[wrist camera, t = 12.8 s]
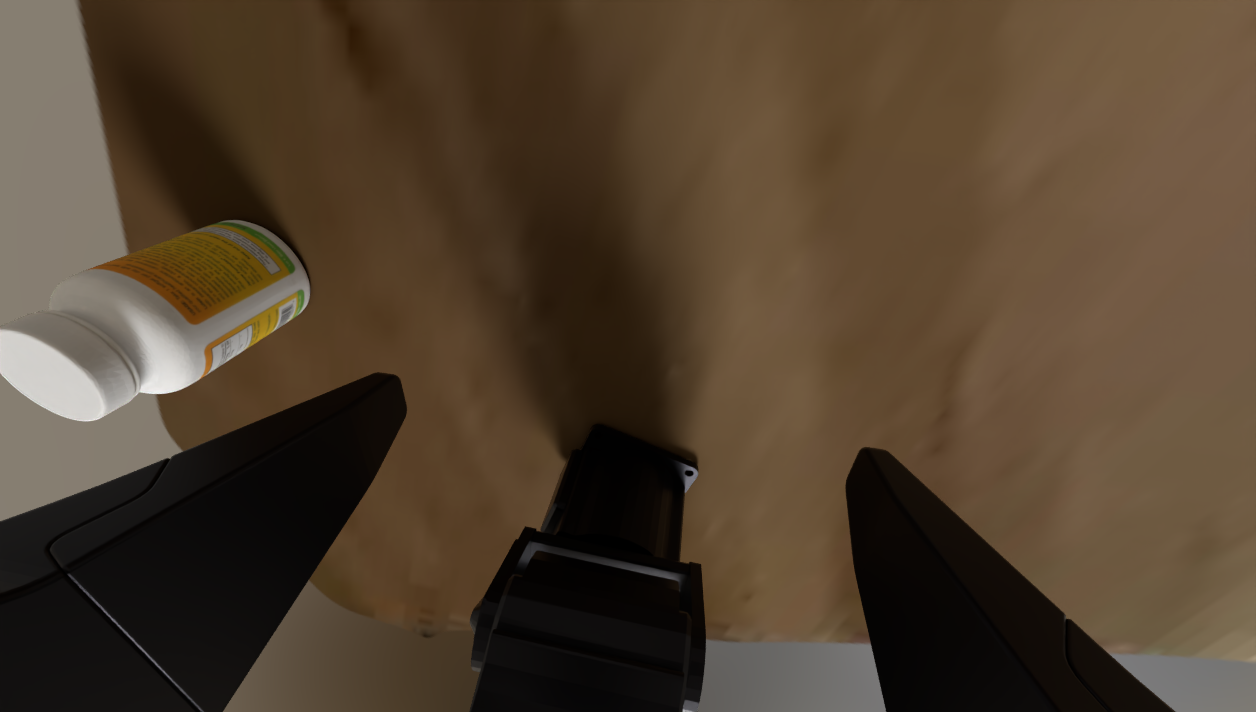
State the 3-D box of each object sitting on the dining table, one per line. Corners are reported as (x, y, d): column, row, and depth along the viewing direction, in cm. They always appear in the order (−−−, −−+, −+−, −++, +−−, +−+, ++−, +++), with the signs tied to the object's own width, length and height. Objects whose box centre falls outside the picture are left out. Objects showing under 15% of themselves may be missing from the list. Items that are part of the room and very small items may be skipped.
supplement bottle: (192, 212, 24) (-81, 300, 16) (292, 221, 23) (63, 317, 15) (237, 311, 27) (28, 427, 18) (327, 321, 26) (151, 446, 18)
